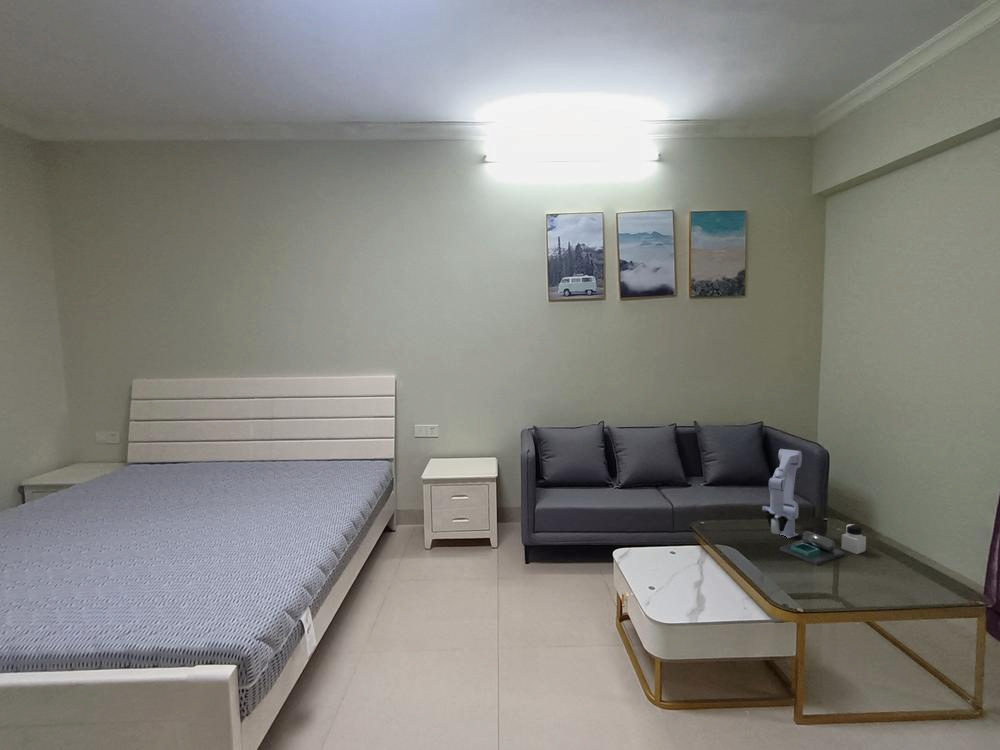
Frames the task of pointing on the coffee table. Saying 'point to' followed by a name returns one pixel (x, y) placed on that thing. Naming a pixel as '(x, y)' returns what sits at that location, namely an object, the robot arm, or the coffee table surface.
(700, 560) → the coffee table surface
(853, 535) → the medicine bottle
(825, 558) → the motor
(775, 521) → the white rounded cylinder
